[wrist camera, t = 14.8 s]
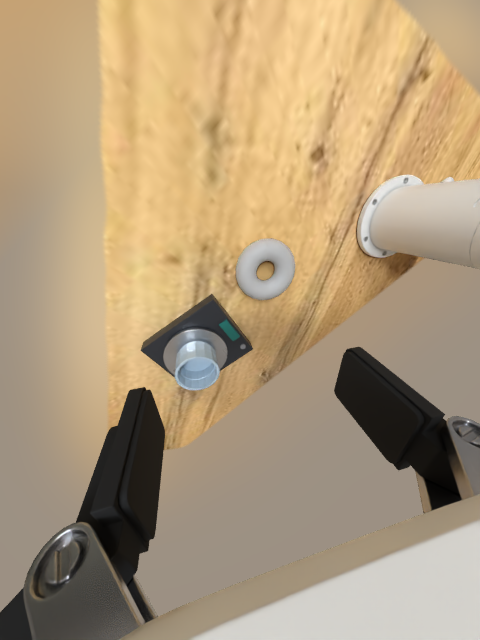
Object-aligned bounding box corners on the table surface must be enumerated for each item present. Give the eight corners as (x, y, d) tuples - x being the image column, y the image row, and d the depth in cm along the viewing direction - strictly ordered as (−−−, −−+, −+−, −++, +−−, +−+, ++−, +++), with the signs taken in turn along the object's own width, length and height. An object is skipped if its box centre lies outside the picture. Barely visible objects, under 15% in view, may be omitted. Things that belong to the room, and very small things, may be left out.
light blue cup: (200, 333, 34) (201, 349, 30) (223, 357, 37) (227, 374, 33) (167, 355, 34) (165, 374, 31) (193, 377, 38) (194, 396, 34)
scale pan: (202, 314, 33) (202, 317, 33) (237, 355, 39) (238, 358, 38) (149, 351, 34) (148, 354, 34) (191, 386, 40) (191, 389, 39)
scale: (211, 293, 35) (213, 300, 32) (249, 341, 41) (253, 350, 39) (143, 342, 36) (140, 351, 34) (190, 381, 43) (190, 391, 40)
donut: (249, 305, 38) (297, 277, 37) (254, 313, 35) (307, 283, 34) (222, 257, 33) (277, 224, 32) (225, 262, 30) (286, 226, 29)
